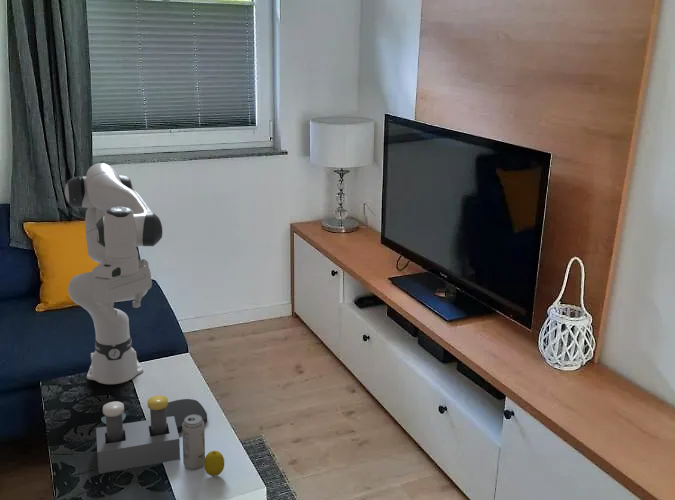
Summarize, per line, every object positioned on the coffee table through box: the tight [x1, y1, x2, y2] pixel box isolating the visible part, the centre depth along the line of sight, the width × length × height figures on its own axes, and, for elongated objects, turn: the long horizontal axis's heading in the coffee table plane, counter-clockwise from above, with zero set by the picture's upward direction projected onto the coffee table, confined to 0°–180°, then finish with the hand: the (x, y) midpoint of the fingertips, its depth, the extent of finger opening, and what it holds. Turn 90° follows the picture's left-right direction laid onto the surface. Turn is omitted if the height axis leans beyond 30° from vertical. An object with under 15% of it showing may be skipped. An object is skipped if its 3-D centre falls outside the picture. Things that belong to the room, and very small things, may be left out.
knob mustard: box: [147, 394, 169, 436], centre depth 190 cm, size 6×6×11 cm
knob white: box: [102, 400, 125, 443], centre depth 186 cm, size 6×6×11 cm
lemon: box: [203, 450, 225, 477], centre depth 182 cm, size 6×6×8 cm
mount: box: [95, 416, 181, 475], centre depth 190 cm, size 12×22×7 cm, turn 110°
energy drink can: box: [181, 414, 206, 471], centre depth 185 cm, size 6×6×15 cm
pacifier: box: [100, 412, 127, 425], centre depth 205 cm, size 7×6×6 cm
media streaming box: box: [166, 398, 208, 434], centre depth 209 cm, size 15×15×3 cm
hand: (125, 311), depth 190 cm, fingers open, 8 cm apart
